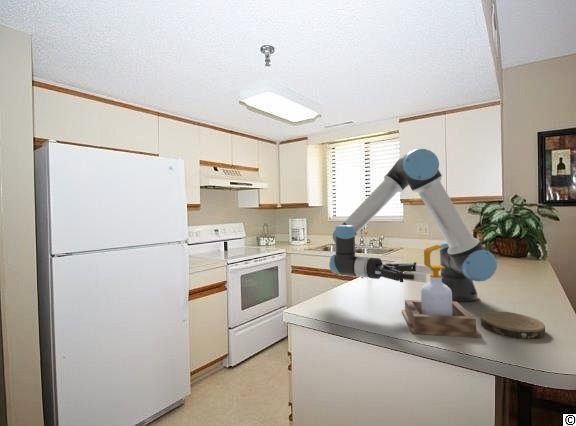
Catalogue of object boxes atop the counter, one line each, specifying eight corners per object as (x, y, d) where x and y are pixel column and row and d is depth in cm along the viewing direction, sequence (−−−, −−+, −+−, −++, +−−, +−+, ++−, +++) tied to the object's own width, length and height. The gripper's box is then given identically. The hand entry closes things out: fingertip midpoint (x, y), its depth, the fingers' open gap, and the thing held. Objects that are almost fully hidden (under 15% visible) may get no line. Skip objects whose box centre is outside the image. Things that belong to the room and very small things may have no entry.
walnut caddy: (458, 314, 106) (458, 300, 106) (481, 337, 87) (481, 320, 87) (401, 312, 110) (401, 298, 110) (411, 333, 91) (411, 317, 91)
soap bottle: (458, 325, 94) (456, 246, 94) (428, 325, 94) (426, 247, 94) (444, 315, 103) (443, 243, 103) (417, 315, 103) (415, 244, 103)
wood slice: (545, 327, 94) (545, 318, 94) (544, 345, 82) (544, 334, 82) (485, 316, 104) (485, 308, 104) (476, 331, 93) (476, 321, 92)
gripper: (381, 271, 122) (439, 278, 109) (354, 284, 102) (421, 294, 89) (381, 253, 122) (438, 257, 109) (354, 262, 102) (420, 268, 89)
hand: (431, 273), depth 99 cm, fingers open, 13 cm apart
